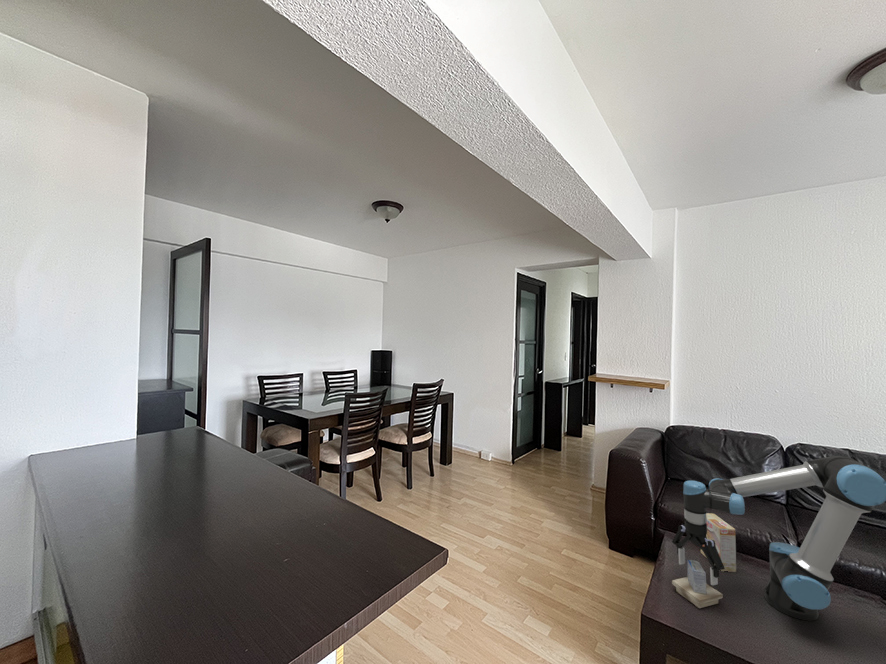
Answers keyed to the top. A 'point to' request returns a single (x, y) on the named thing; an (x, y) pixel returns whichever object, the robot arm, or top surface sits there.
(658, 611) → the top surface
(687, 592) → the stand
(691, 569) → the medicine box
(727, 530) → the coffeecake box
